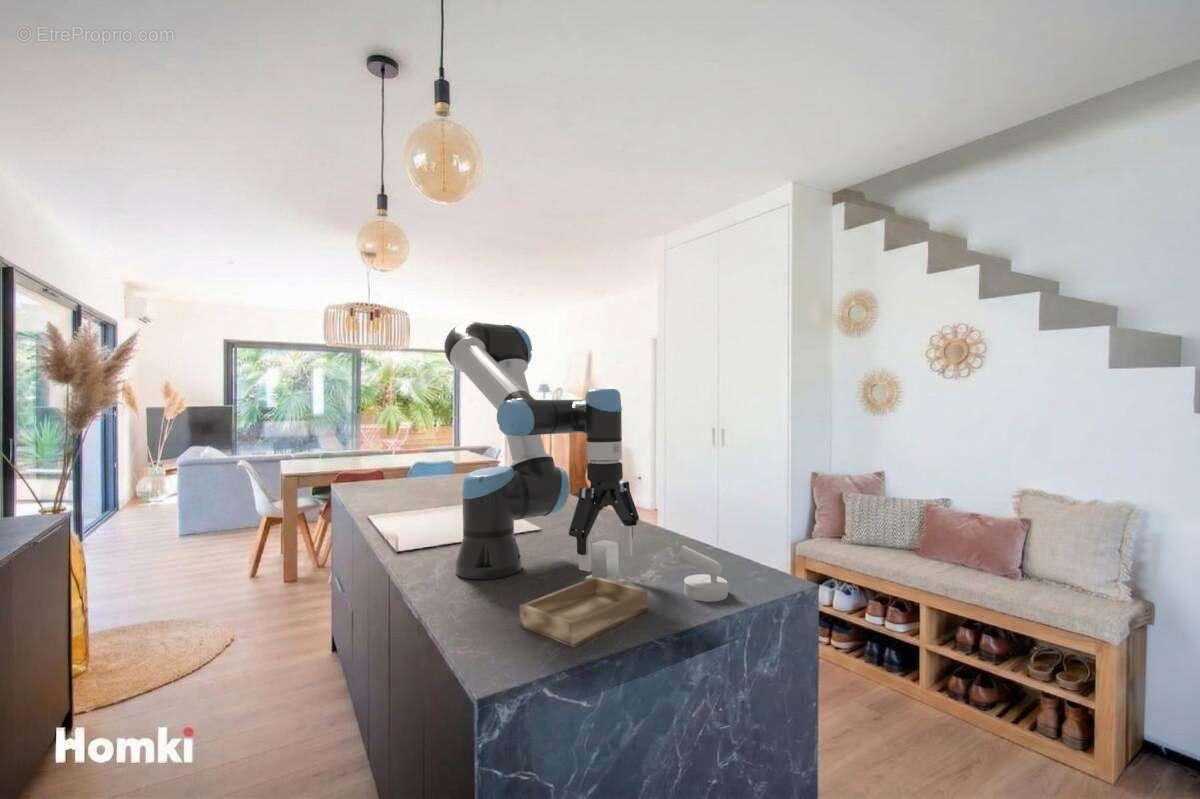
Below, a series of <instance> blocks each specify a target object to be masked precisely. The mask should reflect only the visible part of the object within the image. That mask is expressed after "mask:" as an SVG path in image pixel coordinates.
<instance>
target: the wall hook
mask: <svg viewBox="0 0 1200 799" xmlns="http://www.w3.org/2000/svg"><path fill="white" fill-rule="evenodd" d="M676 560H679V561H680V562H682V563H684V564H686V565H688V566H690V567H692V568H694V569H696V570H698V571H701V572H703V574H692V575H688V576H686V577H685V578H684V580H683V595H685V596H686V597H687V598H689V599H691V600H694V601H698V602H706V603H707V602H708V603H709V602H718V601H719V602H720V601H723V600H725V599H727V598H728V596H729V594H728V592H729V591H728V580H726V579H725V578H723V577H721V575H722V573H723V566H722V565H721V564H720V563H719V562H718V561H717V560H715V559H712V558H711V557H708V556H707V555H704V554H702V553H700V552H699V551H696V550H694V549H692V548H690V547H688V546H686V545H683V544H682V545H681V547H680V550H679V552H678V554H677V558H676Z"/></svg>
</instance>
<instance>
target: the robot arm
mask: <svg viewBox="0 0 1200 799" xmlns="http://www.w3.org/2000/svg"><path fill="white" fill-rule="evenodd" d="M443 347H444V354H445V357H446V359H447V361H448V362H449V363H450V365H451V366H452V367H453V368H454V369H455V370H456V371H458V372H461V373H464V375H466V377H467V378H468V379H469V380H470V381H471V382H472V383H473V384H474V386H475V387H476V388H477V389H478V390H479V391H480V392H481V393H482V395H484V397H485V398H486V400H488V401H489V403H490V404H491V405H492V406H493V407H494V408H495V409H496V412H497V413H496V423H497V425H498V429H499V430H500V432H501V433H502V434H504V435H506V439H507V443H508V447H509V448H508V449H509V451H510V456H511V460H512V462H511V464H510V465H509V466H508V465H507V466H506V465H504V466H503V465H501V466H500V465H499V466H495V467H493V466H490V467H485V468H480V469H477V470H474V471H471V472H469V473H468V474H466V476H464V479H463V482H462V491H461V492H462V494H461V497H462V540H461V543H460V546H459V550H458V554H457V558H456V560H455V563H454V564H455V571H454V572H455V574H456V575H457V576H458V577H461V578H465V579H468V580H469V579H470V580H494V579H500V578H505V577H509V576H512V575H515V574H517V573H519V572H520V571H521V570H522V568H523V566H522V555H521V554H520V550H519V545H518V543H517V540H516V537H515V526H514V525H515V521H517V520H520V521H521V520H525V519H530V518H536V517H547V516H549V515H552V514H558V513H559V512H560V511H562V510H563V509H564V508H565V506H566V504H567V502H568V498H569V496H570V489H571V486H570V479H569V476H568V474H567V472H566V470H564V469H563V468H562V467H560V466H556V464H555V460H554V457H553V456H551V455H550V454H548V453H546V451H545V446H544V443H543V439H542V435H557V434H559V435H561V434H586V460H587V461H589V462H588V463H587V465H586V469H587V470H586V473H587V474H586V476H587V480H588V481H589V483H590V486H589V488H588V487H580V488H579V489H578V500H577V504H576V507H575V510H574V513H573V517H572V520H571V523H570V527H569V531H568V536H570V537H573V538H576V552H577V555H578V570H580V571H585V572H589V573H590V572H592V540H591V537H589V534H590V532H591V530H592V529H593V526H594V524H595V522H596V519H597V518H598V515H599V514H600V511H602V510H603V509H604V508H606V507H607V508H608V506H611V507H612V508H613V510H614V511H615V513H616V515H617V516H618V518H619V520H620V521H621V523H622V524H620V525H619V532H620V533H619V536H620V537H619V538H620V547H619V548H620V556H626V557H629V558H630V557H633V536H634V534H633V533H634V531H633V528H634V527H633V526H637V525H638V522H639V518H640V517H639V513H638V511H637V510H638V509H637V507H636V505H635V501H634V499H633V495H632V494H631V488H630V487H631V486H630V482H629V481H627V480H622V479H623V478H624V477H623V476H624V474H623V472H624V470H623V468H624V467H623V463H622V462H621V460H622V459H623V446H622V442H623V441H622V440H623V439H622V437H623V435H622V434H623V433H622V429H623V428H622V427H623V426H622V410H623V407H622V399H621V397H622V396H621V393H620V391H619V390H618V389H615V388H594V389H593V388H592V389H588V390H587V391H586V392H585V398H584V399H536V398H534V397H533V396H532V395H531V393H530V390H529V386H528V385H529V384H528V382H527V379H526V374H525V373H526V371H527V369H528V368H529V363H530V362H531V360H532V356H533V354H532V351H533V345H532V341H531V338H530V336H529V335H528V333H527V332H526V331H525V330H524V329H523V328H521V327H518V326H513V325H511V324H504V325H503V324H494V323H487V322H478V321H467V322H463V323H460V324H458V325H456V326H455V327H454V328H452V330H450V331H449V333H448V334H447V335H446V338H445V340H444V346H443Z"/></svg>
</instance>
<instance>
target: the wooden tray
mask: <svg viewBox="0 0 1200 799" xmlns="http://www.w3.org/2000/svg"><path fill="white" fill-rule="evenodd" d="M648 597H649V595H648V590H645V589H642V588H638V587H635V586H631V585H628V584H626V585H625V584H621V583H617V582H614V581H610V580H606V579H603V578H599V577H596V576H595V577H592V578H590V579H587V580H585V579H584V580H582V581H579V582H577V583H574V584H572V585H569V586H567V587H564V588H561V589H559V590H556V591H553V592H551V593H548V594H546V595H544V596H540V597H538V598H536V599H533V600H530V601H528V602H525V603H522V604H520V605H519V616H518V617H519V619H518V620H519V627H521V628H523V629H527V630H529V631H531V632H534V633H536V634H539V635H541V636H544V637H546V638H549V639H551V640H553V641H556V642H558V643H561V644H564V645H566V646H568V647H571V648H573V649H575V648H576V647H578V646H580V645H582V644H585V643H586V642H588V641H590V640H592V639H594V638H595V637H598V636H600V635H601V634H604V633H605V632H607V631H609V630H611V629H613V628H615V627H617V626H618V625H621V624H623V623H625V622H626V621H629V620H630V619H633V618H634V617H636V616H639V615H640V614H642V613H644V612H646V611H648V609H649V606H648V604H649V602H648V600H649V599H648Z"/></svg>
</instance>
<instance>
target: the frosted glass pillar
mask: <svg viewBox="0 0 1200 799" xmlns="http://www.w3.org/2000/svg"><path fill="white" fill-rule="evenodd" d="M619 561H620V560H619V542H617V541H612V540H606V539H603V540H599V541H595V542H593V543H592V542H591V574H589V575H586V576H585V577H584V580H587V579H590V578H592V577H595V576H596V577H599V578H603V579H606V580H610V581H614V582H617V583H621V584H625V585H627V580H626V579H623V578H620V577H619V575H620V574H619V572H620V569H619V567H620V566H619V564H620V563H619Z"/></svg>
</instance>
